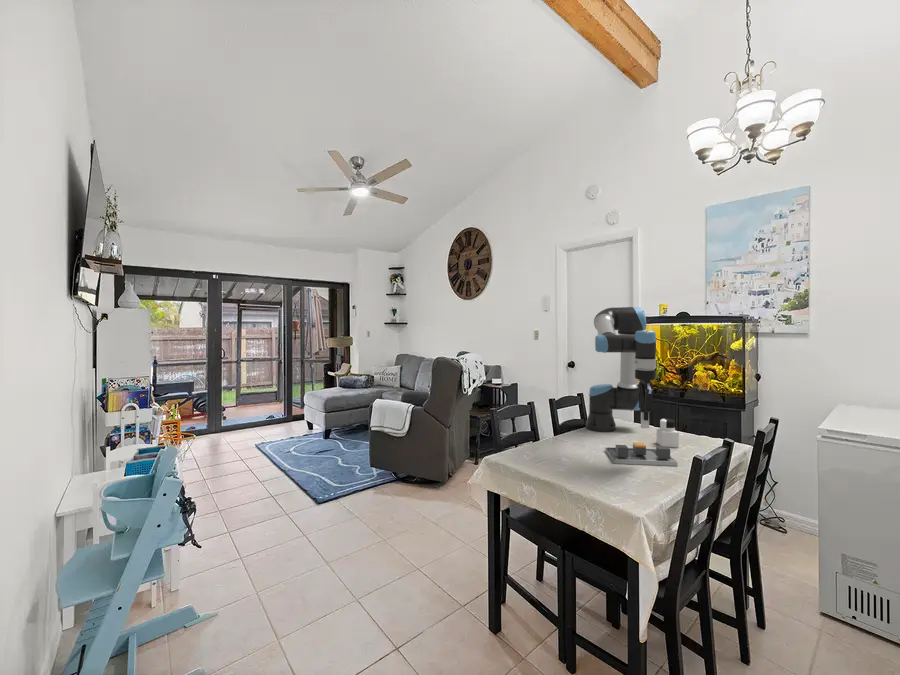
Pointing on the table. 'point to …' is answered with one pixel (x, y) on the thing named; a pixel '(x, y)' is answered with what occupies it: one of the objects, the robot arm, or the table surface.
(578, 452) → the table surface
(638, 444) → the block
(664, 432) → the medicine bottle
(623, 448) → the breaker
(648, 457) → the panel
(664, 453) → the block
